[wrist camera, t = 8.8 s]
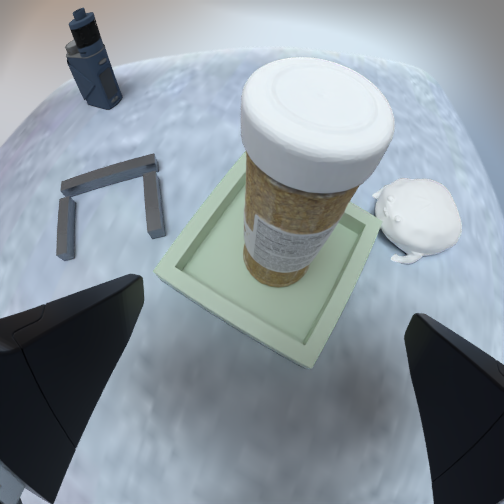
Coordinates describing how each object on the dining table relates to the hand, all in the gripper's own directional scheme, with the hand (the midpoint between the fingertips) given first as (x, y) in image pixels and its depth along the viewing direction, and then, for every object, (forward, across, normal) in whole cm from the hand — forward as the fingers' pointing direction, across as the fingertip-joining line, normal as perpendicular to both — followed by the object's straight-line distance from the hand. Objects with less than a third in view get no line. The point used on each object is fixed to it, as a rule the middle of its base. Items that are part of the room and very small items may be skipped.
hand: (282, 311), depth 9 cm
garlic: (+14, -11, 0) cm, 18 cm away
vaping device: (+22, +20, -8) cm, 30 cm away
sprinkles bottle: (+11, 0, +3) cm, 11 cm away
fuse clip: (+12, +13, +2) cm, 17 cm away
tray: (+11, 0, +3) cm, 11 cm away
